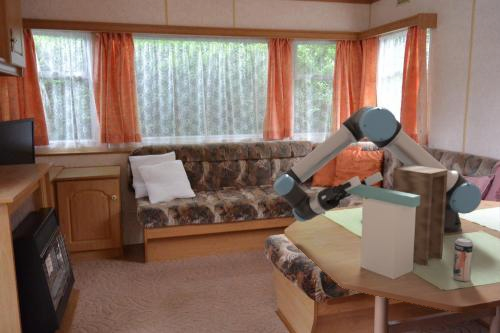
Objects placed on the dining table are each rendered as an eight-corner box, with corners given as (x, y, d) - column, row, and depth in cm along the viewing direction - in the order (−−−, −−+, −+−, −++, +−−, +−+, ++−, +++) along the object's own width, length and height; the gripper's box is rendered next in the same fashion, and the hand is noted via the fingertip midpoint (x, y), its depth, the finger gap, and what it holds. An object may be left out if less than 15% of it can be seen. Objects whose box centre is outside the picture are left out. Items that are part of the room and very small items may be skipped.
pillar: (360, 266, 139) (362, 199, 136) (380, 259, 145) (382, 194, 141) (393, 279, 130) (396, 207, 126) (412, 270, 136) (416, 201, 132)
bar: (347, 193, 144) (347, 184, 144) (354, 191, 147) (354, 182, 146) (412, 207, 126) (413, 197, 125) (419, 205, 128) (420, 195, 127)
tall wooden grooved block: (390, 254, 149) (393, 168, 144) (407, 248, 155) (411, 164, 150) (425, 266, 139) (430, 173, 134) (442, 259, 145) (447, 169, 140)
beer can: (449, 276, 131) (451, 237, 129) (464, 275, 132) (467, 237, 130) (458, 282, 127) (461, 243, 125) (473, 282, 127) (476, 242, 125)
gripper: (350, 205, 161) (396, 183, 144) (305, 216, 148) (350, 194, 131) (342, 186, 163) (387, 163, 146) (298, 195, 150) (341, 171, 133)
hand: (370, 177), depth 139 cm, fingers open, 10 cm apart
